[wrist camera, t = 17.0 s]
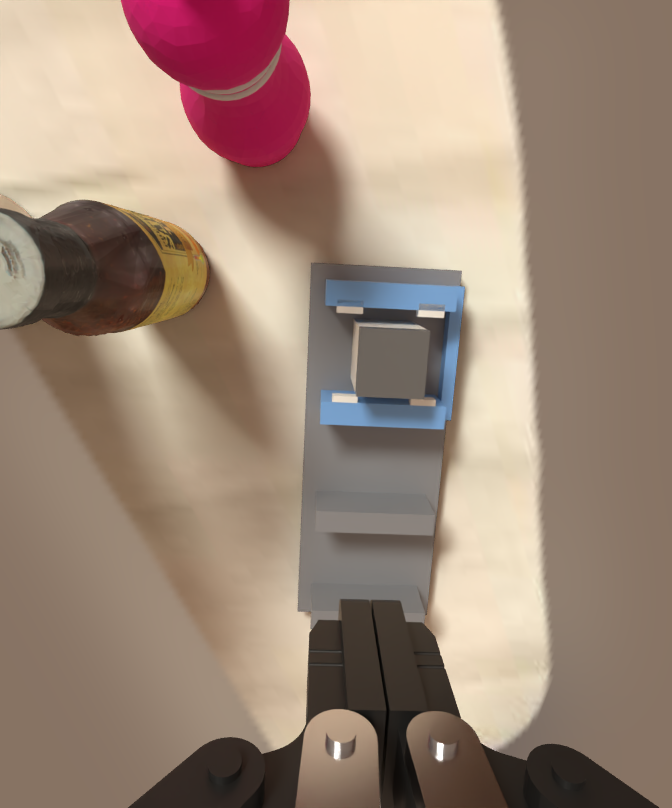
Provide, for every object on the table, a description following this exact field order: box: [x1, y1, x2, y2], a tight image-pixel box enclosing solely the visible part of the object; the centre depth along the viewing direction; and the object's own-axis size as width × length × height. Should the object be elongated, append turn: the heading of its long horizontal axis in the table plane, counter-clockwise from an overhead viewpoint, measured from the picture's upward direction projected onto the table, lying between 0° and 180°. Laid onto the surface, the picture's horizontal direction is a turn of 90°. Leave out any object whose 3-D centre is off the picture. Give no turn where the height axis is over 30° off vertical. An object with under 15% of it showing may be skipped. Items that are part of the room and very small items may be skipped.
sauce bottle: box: [0, 200, 210, 336], centre depth 28 cm, size 7×6×20 cm
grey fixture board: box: [298, 263, 465, 629], centre depth 38 cm, size 10×26×5 cm, turn 177°
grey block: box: [351, 319, 430, 399], centre depth 35 cm, size 4×4×6 cm
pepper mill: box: [121, 0, 311, 167], centre depth 26 cm, size 7×7×20 cm
